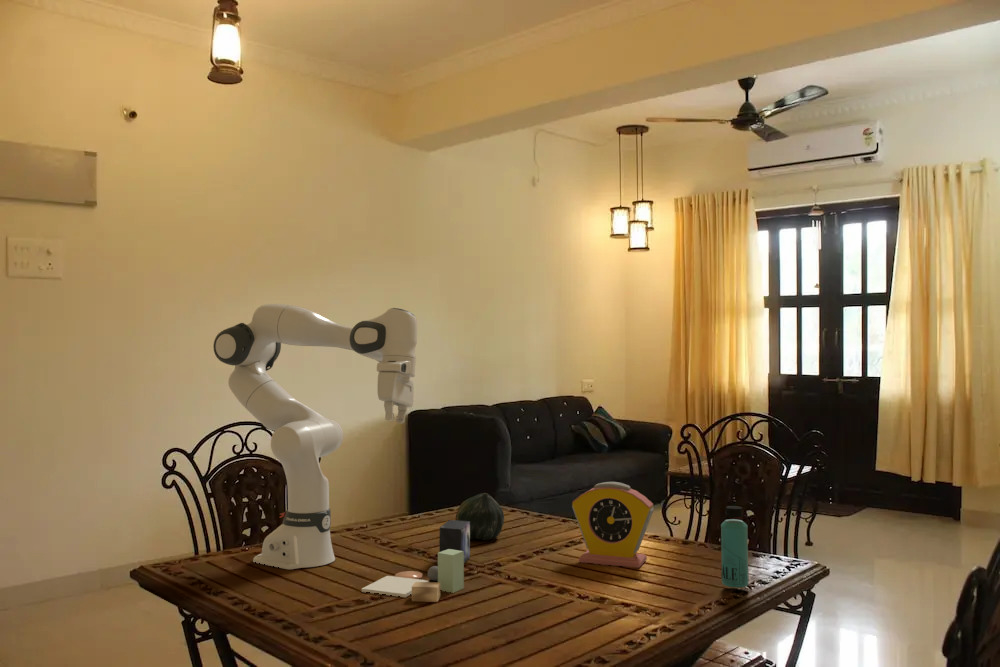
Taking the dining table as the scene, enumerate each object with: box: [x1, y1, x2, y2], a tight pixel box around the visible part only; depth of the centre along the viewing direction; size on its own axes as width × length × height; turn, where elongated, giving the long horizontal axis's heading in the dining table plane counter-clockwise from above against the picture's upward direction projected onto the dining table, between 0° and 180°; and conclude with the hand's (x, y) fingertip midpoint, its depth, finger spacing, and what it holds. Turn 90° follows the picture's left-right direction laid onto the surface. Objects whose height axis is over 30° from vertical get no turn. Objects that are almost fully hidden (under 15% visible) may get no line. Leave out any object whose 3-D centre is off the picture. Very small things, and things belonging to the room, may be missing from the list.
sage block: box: [437, 549, 465, 594], centre depth 199 cm, size 4×4×9 cm
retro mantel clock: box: [571, 481, 655, 569], centre depth 223 cm, size 22×9×22 cm, turn 68°
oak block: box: [411, 581, 441, 603], centre depth 191 cm, size 6×4×4 cm, turn 83°
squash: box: [454, 492, 505, 542], centre depth 251 cm, size 14×15×15 cm
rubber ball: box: [427, 565, 438, 582], centre depth 206 cm, size 4×4×4 cm
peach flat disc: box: [394, 570, 423, 579], centre depth 210 cm, size 7×7×1 cm
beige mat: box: [361, 575, 430, 598], centre depth 200 cm, size 12×12×1 cm
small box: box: [438, 519, 471, 564], centre depth 224 cm, size 11×6×10 cm, turn 168°
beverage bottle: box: [720, 505, 750, 588], centre depth 197 cm, size 6×7×20 cm
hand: (394, 421), depth 214 cm, fingers open, 8 cm apart
